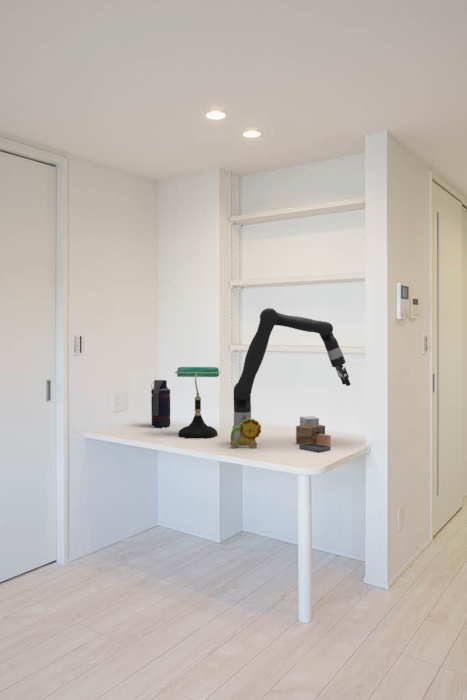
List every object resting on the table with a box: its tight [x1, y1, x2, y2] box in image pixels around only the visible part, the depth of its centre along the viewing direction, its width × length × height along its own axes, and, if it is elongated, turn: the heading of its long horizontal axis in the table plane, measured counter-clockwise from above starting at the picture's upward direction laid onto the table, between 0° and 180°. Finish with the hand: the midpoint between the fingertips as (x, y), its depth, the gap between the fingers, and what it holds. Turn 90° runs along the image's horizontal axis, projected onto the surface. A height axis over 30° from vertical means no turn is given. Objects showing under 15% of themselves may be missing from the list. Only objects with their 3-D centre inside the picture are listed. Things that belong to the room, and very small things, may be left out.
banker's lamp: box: [174, 366, 221, 439], centre depth 335 cm, size 26×23×40 cm
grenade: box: [150, 379, 171, 428], centre depth 367 cm, size 14×12×30 cm
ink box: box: [299, 415, 320, 426], centre depth 327 cm, size 9×9×12 cm
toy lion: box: [230, 418, 262, 449], centre depth 299 cm, size 16×5×15 cm, turn 90°
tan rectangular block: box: [316, 433, 332, 448], centre depth 304 cm, size 2×10×6 cm, turn 42°
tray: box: [298, 443, 331, 453], centre depth 293 cm, size 9×13×2 cm
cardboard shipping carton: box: [295, 424, 326, 445], centre depth 309 cm, size 12×10×10 cm
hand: (346, 384), depth 312 cm, fingers open, 8 cm apart
